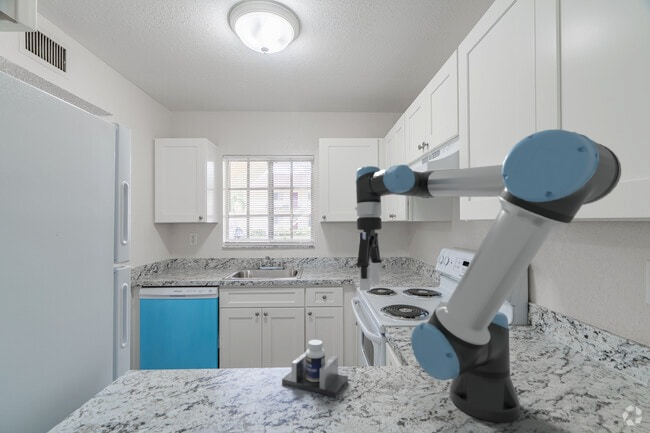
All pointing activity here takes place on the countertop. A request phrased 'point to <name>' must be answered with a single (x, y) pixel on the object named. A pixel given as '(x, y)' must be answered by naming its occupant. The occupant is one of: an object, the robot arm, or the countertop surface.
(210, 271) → the countertop surface
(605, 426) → the countertop surface
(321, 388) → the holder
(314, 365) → the pill bottle
